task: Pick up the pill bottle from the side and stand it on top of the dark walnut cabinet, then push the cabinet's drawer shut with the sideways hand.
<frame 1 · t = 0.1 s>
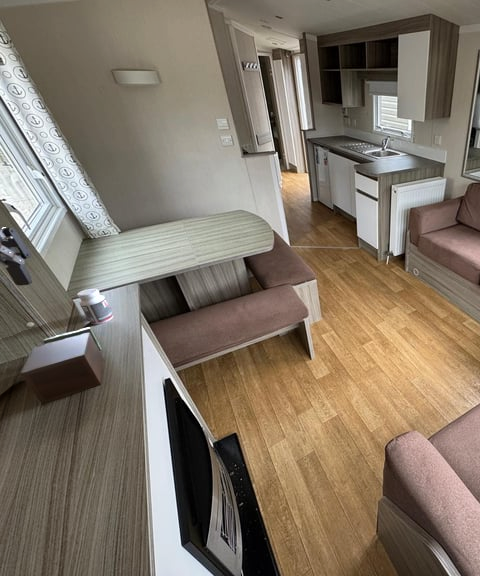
hand: (4, 294, 54), 26 cm above the table, tool pointing down, fingers open, 8 cm apart
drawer: (71, 351, 73), point 4 cm above the table, slide at 4.0 cm
cabinet: (76, 380, 70), on the table
pill bottle: (102, 320, 94), on the table
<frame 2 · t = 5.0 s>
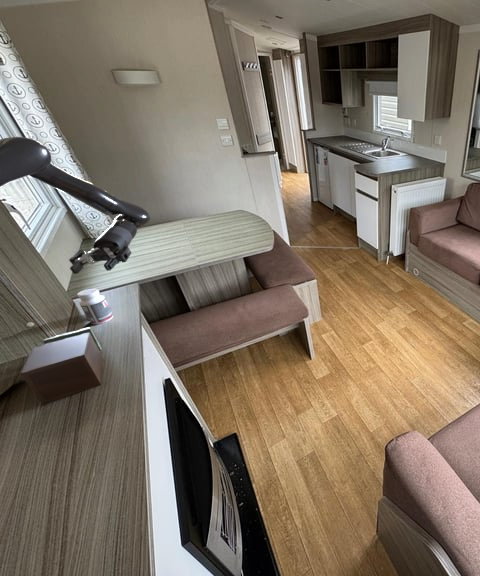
hand: (90, 269, 90), 16 cm above the table, tool horizontal, fingers open, 8 cm apart
nothing on the table moved.
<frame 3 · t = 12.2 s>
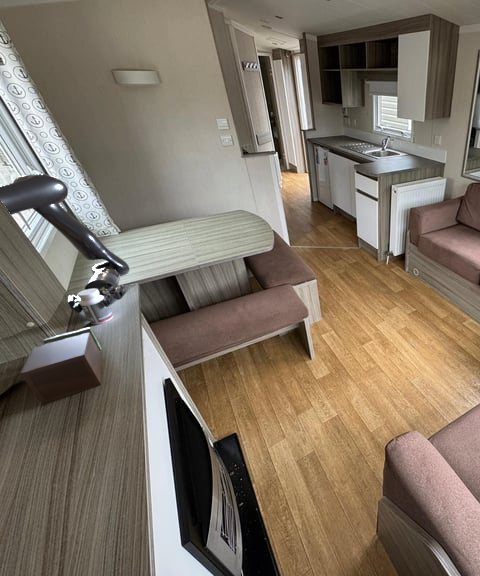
hand: (91, 306, 90), 6 cm above the table, tool horizontal, fingers closed on pill bottle, 5 cm apart
pill bottle: (102, 320, 94), on the table, touching gripper
everything else where it was.
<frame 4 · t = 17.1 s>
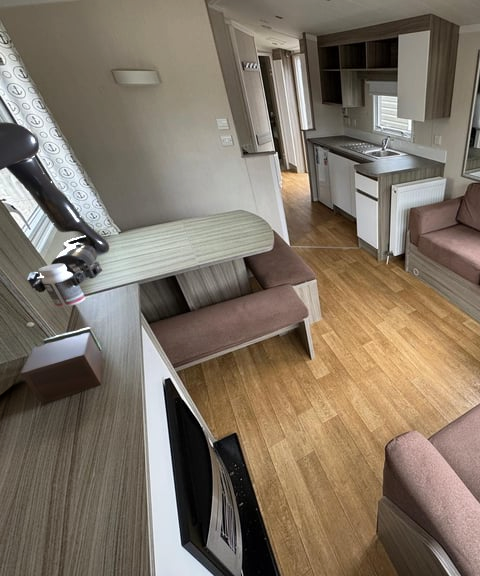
hand: (57, 285, 73), 19 cm above the table, tool horizontal, fingers closed on pill bottle, 5 cm apart
pill bottle: (71, 303, 78), point 12 cm above the table, touching gripper
everything else where it was.
when the fingers open (15 cm above the table, at t = 22.3 s): pill bottle stays where it is, resting on cabinet.
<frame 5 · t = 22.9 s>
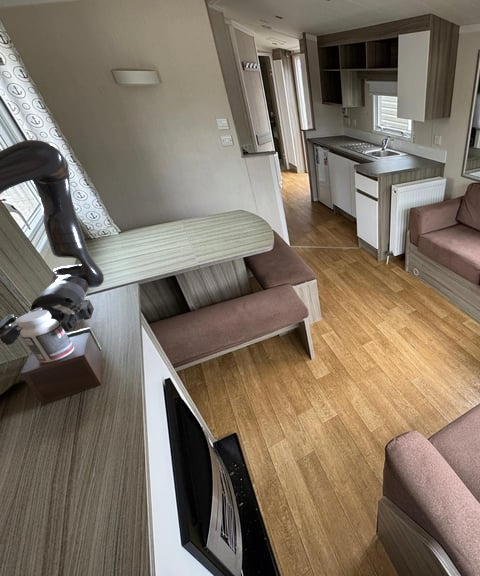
hand: (36, 333, 61), 15 cm above the table, tool horizontal, fingers open, 8 cm apart
pill bottle: (57, 355, 65), point 8 cm above the table, touching cabinet
everything else where it was.
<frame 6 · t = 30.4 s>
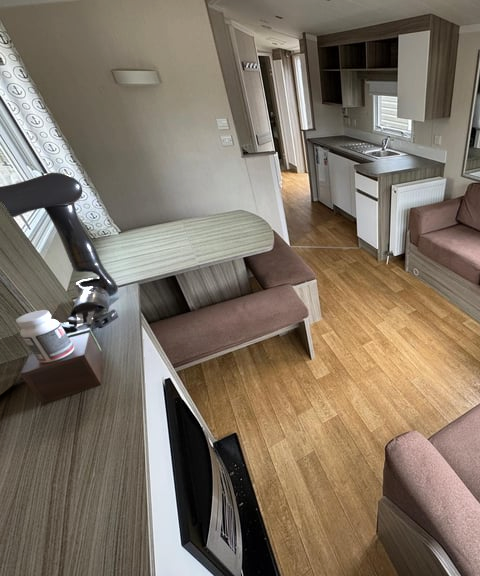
hand: (84, 335, 76), 6 cm above the table, tool horizontal, fingers closed
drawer: (71, 353, 73), point 4 cm above the table, slide at 3.3 cm, touching gripper
everything else where it was.
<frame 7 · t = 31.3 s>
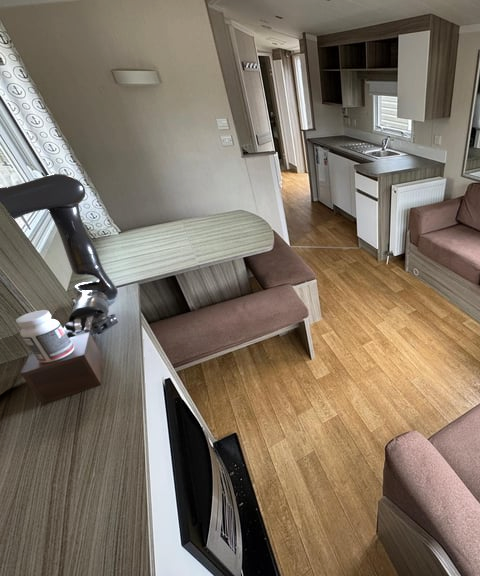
hand: (82, 341, 74), 6 cm above the table, tool horizontal, fingers closed
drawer: (69, 360, 70), point 4 cm above the table, slide at 0.0 cm, touching cabinet, gripper
everything else where it was.
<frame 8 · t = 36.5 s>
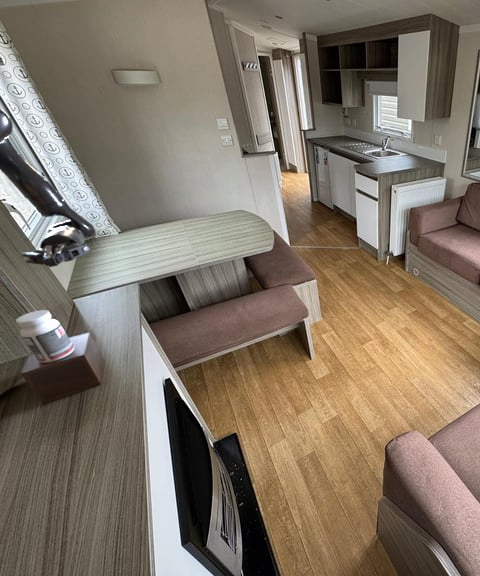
hand: (51, 262, 72), 24 cm above the table, tool horizontal, fingers closed
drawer: (69, 360, 70), point 4 cm above the table, slide at 0.0 cm, touching cabinet
everything else where it was.
at the end: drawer slide at 0.0 cm; pill bottle inside the target area on the cabinet (0.6 cm from its centre), point 8.4 cm above the cabinet's base; pill bottle tilted 0° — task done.
